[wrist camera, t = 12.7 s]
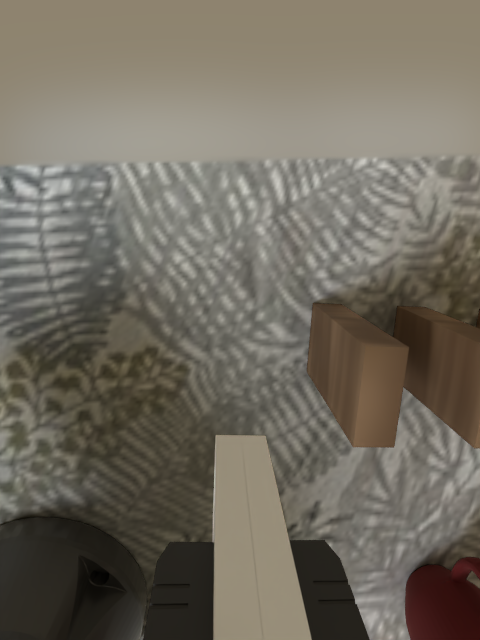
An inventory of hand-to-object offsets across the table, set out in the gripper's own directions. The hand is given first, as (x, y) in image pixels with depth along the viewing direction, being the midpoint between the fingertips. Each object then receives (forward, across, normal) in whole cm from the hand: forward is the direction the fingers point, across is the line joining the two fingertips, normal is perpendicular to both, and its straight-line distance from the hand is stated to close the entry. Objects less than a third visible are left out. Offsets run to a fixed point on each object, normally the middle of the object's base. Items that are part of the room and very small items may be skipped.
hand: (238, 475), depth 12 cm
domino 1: (+16, +7, 0) cm, 17 cm away
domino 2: (+16, +13, 0) cm, 20 cm away
